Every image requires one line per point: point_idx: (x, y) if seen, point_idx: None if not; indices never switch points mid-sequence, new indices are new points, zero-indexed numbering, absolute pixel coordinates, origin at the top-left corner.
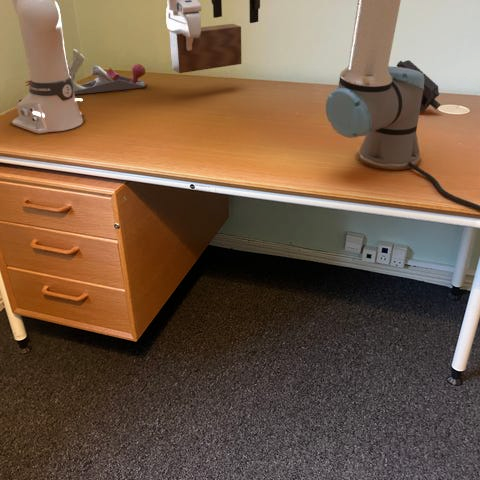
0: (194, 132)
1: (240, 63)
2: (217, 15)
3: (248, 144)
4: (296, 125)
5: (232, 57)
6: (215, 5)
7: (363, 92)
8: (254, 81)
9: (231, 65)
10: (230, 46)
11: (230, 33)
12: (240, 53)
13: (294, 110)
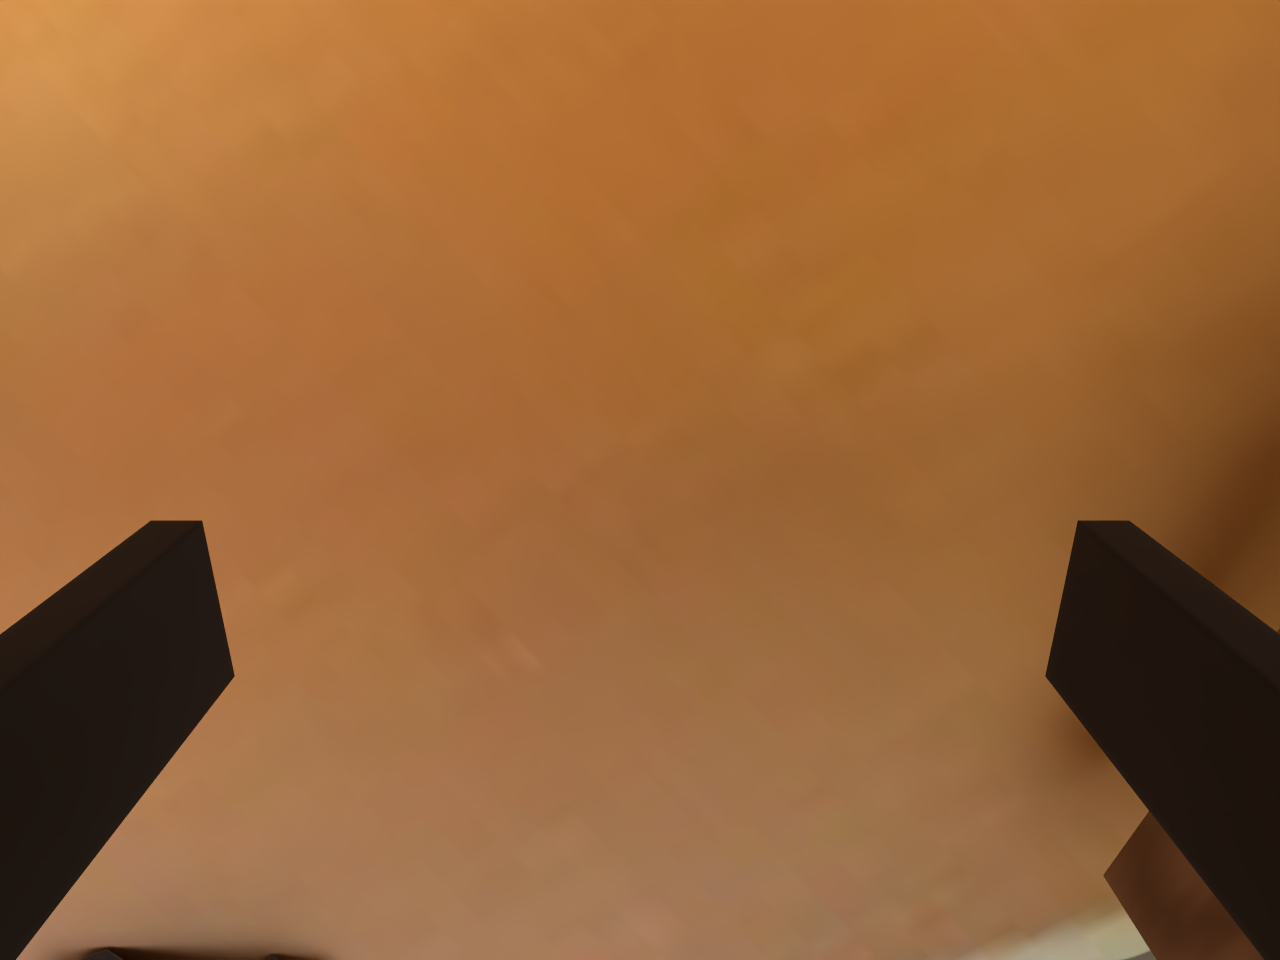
0: (783, 9)
1: (1109, 873)
2: (1084, 591)
3: (366, 91)
4: (393, 513)
5: (1172, 866)
6: (1213, 658)
7: None
8: (1067, 904)
9: (1145, 816)
10: (1234, 926)
11: None
12: (1147, 933)
13: (567, 681)
